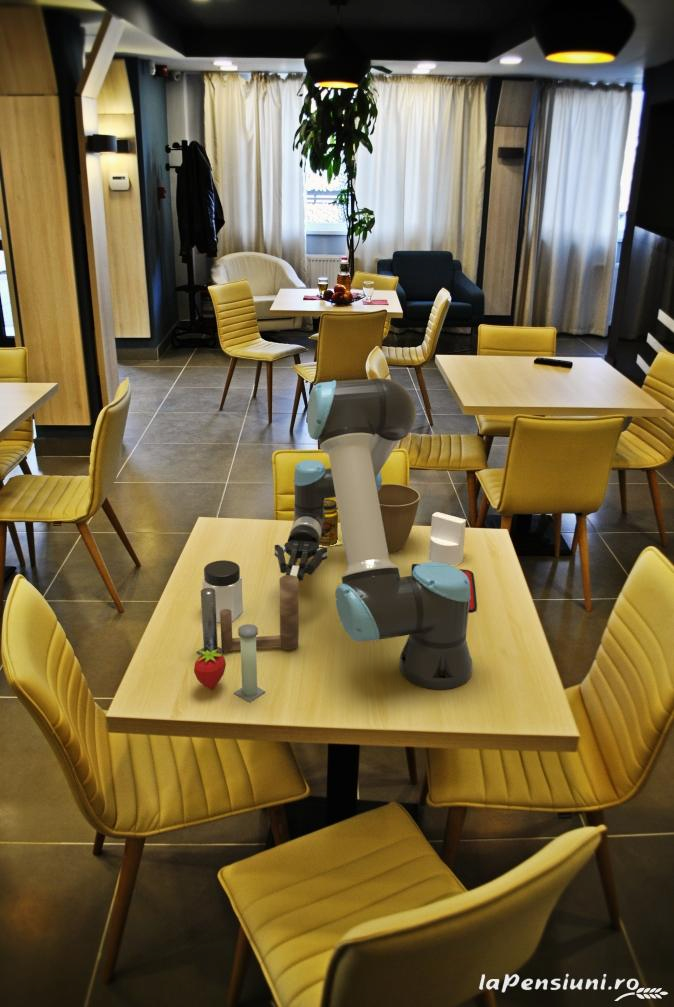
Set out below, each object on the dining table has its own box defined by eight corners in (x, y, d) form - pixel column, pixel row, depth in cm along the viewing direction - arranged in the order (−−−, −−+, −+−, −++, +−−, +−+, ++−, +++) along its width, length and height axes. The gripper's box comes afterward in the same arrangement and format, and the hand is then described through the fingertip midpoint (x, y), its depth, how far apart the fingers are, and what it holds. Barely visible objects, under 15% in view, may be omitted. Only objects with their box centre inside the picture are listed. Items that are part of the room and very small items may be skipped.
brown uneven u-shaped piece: (221, 653, 181) (218, 587, 175) (221, 643, 185) (218, 578, 179) (299, 648, 183) (299, 583, 177) (297, 638, 187) (297, 574, 181)
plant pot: (353, 541, 235) (354, 488, 229) (400, 532, 241) (402, 480, 234) (378, 564, 222) (380, 508, 216) (427, 554, 228) (430, 499, 222)
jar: (241, 603, 203) (240, 558, 198) (244, 621, 195) (242, 575, 190) (203, 606, 201) (201, 561, 196) (204, 624, 194) (202, 577, 189)
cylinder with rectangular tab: (422, 560, 225) (425, 519, 221) (439, 548, 232) (441, 508, 227) (453, 569, 221) (456, 527, 216) (468, 557, 227) (472, 516, 223)
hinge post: (225, 651, 183) (222, 590, 177) (210, 660, 180) (207, 598, 174) (211, 644, 186) (208, 584, 180) (196, 652, 183) (192, 591, 177)
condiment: (317, 548, 231) (318, 508, 226) (309, 535, 238) (309, 496, 233) (343, 545, 233) (344, 505, 228) (334, 533, 240) (334, 493, 235)
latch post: (265, 692, 170) (264, 628, 164) (249, 702, 167) (247, 638, 161) (249, 683, 173) (248, 621, 167) (234, 693, 169) (231, 629, 164)
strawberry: (188, 696, 168) (186, 653, 164) (206, 675, 175) (204, 634, 171) (215, 702, 167) (213, 659, 163) (232, 682, 173) (231, 640, 169)
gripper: (330, 552, 209) (321, 601, 187) (278, 549, 210) (263, 598, 188) (331, 525, 206) (321, 571, 184) (278, 522, 207) (262, 568, 185)
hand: (292, 584), depth 186 cm, fingers closed
